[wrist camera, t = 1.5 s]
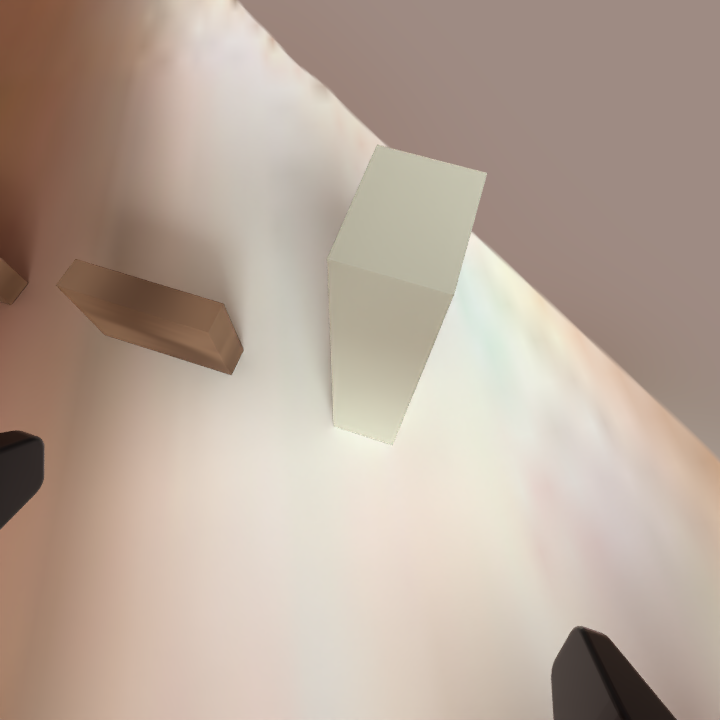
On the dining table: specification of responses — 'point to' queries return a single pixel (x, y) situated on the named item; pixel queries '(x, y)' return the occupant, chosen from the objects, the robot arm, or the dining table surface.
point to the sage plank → (394, 283)
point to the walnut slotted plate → (144, 313)
